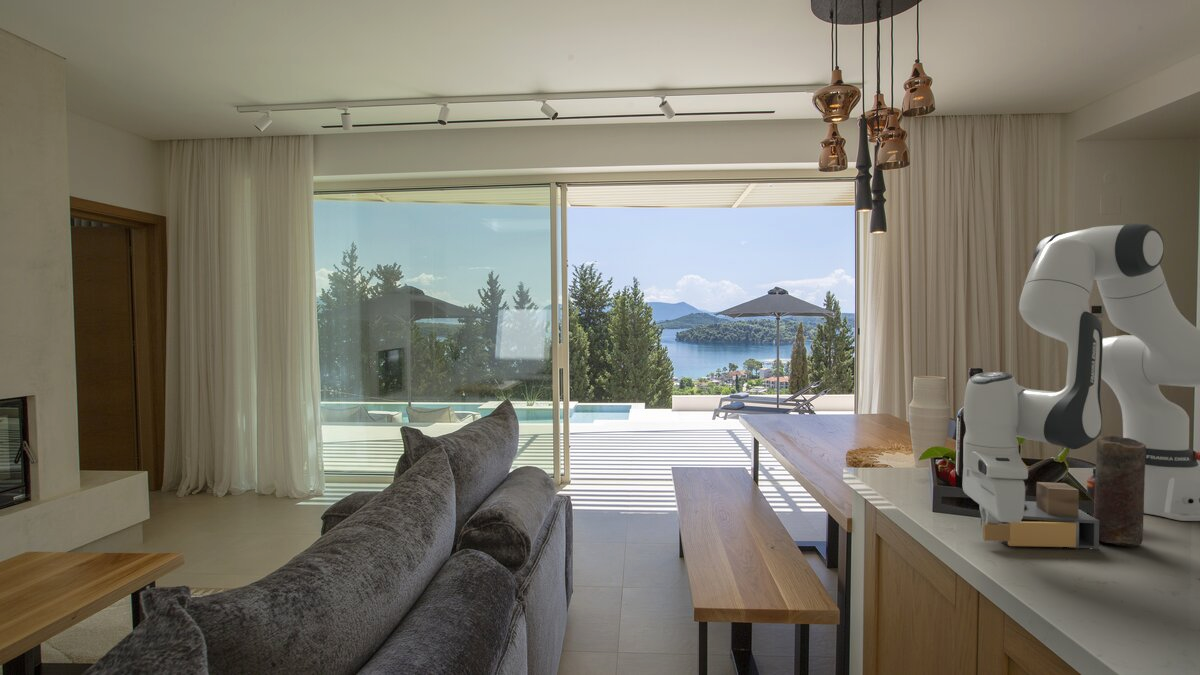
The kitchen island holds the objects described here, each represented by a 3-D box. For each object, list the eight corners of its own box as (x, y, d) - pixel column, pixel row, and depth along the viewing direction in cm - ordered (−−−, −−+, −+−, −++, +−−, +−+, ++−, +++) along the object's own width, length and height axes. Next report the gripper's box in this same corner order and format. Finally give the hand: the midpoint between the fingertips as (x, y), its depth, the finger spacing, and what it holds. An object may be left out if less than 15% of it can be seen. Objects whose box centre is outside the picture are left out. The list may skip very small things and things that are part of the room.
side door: (1076, 546, 115) (1077, 521, 115) (1079, 548, 114) (1080, 522, 114) (982, 545, 116) (982, 519, 116) (985, 546, 116) (985, 521, 115)
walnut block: (1036, 506, 123) (1036, 481, 123) (1064, 508, 122) (1065, 483, 122) (1048, 514, 118) (1048, 488, 118) (1078, 516, 117) (1078, 490, 117)
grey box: (1068, 530, 125) (1068, 500, 125) (1098, 549, 115) (1099, 517, 115) (980, 524, 129) (981, 495, 129) (1002, 543, 118) (1002, 511, 118)
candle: (1136, 539, 120) (1138, 437, 119) (1150, 552, 113) (1152, 444, 113) (1087, 534, 123) (1088, 434, 122) (1098, 546, 116) (1100, 440, 116)
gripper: (954, 446, 128) (953, 512, 128) (991, 470, 108) (991, 548, 108) (988, 447, 126) (987, 514, 127) (1033, 472, 106) (1032, 551, 107)
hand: (989, 530), depth 117 cm, fingers closed
